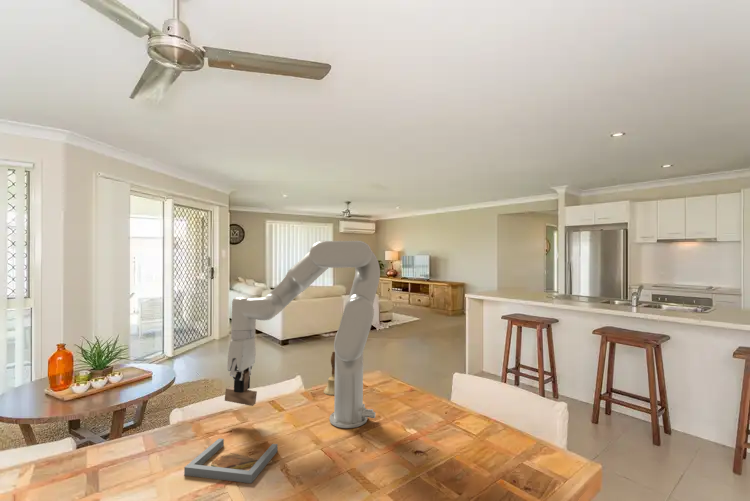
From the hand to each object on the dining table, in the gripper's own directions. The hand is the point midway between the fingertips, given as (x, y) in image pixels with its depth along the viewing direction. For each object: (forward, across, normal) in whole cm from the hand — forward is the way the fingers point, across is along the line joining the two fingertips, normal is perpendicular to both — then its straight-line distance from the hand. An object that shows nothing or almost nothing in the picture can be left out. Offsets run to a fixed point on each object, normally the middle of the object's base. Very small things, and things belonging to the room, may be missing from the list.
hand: (241, 389), depth 118 cm
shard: (+11, +21, +11) cm, 26 cm away
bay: (+11, +22, +10) cm, 27 cm away
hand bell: (+11, -32, +22) cm, 41 cm away
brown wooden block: (+4, 0, -1) cm, 4 cm away
